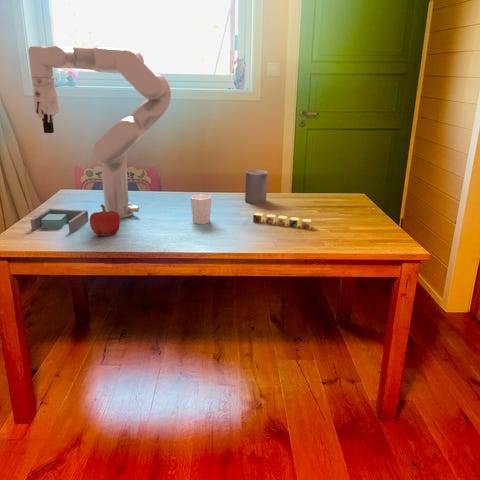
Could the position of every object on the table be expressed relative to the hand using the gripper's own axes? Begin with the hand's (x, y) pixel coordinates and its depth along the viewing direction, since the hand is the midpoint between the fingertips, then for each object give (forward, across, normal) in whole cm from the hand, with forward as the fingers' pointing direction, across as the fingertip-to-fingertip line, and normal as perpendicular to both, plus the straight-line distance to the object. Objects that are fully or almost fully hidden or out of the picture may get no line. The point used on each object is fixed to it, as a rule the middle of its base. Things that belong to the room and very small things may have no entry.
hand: (49, 132), depth 181 cm
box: (+32, -15, -8) cm, 36 cm away
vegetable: (+32, -21, -28) cm, 48 cm away
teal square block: (+32, -15, -6) cm, 36 cm away
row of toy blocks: (+33, -1, -91) cm, 97 cm away
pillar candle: (+32, +32, -78) cm, 90 cm away
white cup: (+32, -1, -59) cm, 67 cm away
